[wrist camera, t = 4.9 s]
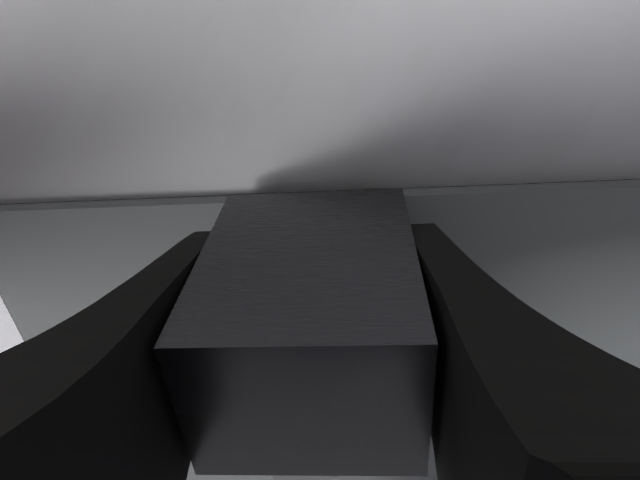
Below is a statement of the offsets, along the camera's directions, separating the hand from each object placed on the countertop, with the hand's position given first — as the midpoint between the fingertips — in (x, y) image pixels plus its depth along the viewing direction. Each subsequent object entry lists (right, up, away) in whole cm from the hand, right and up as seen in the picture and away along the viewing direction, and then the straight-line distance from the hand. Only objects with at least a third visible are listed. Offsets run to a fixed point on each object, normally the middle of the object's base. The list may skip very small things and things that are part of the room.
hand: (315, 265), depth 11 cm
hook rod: (+1, -7, +5) cm, 9 cm away
